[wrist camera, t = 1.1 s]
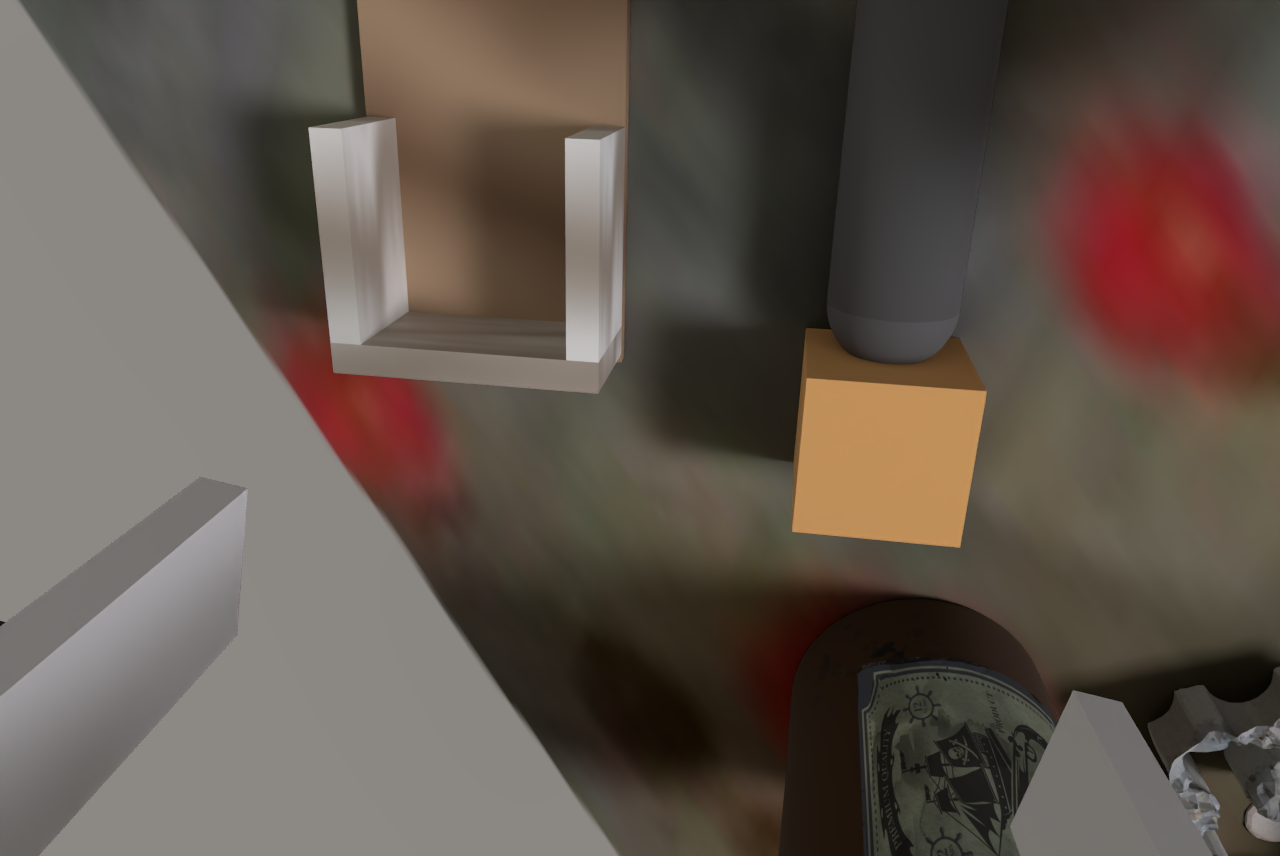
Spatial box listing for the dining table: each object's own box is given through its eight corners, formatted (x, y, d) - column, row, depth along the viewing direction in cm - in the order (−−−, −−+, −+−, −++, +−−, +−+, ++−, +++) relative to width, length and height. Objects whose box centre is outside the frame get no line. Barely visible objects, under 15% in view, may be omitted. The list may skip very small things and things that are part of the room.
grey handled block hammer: (865, -303, 26) (879, -379, 21) (1060, -307, 25) (1121, -387, 20) (793, 463, 34) (792, 531, 30) (937, 475, 34) (959, 547, 29)
